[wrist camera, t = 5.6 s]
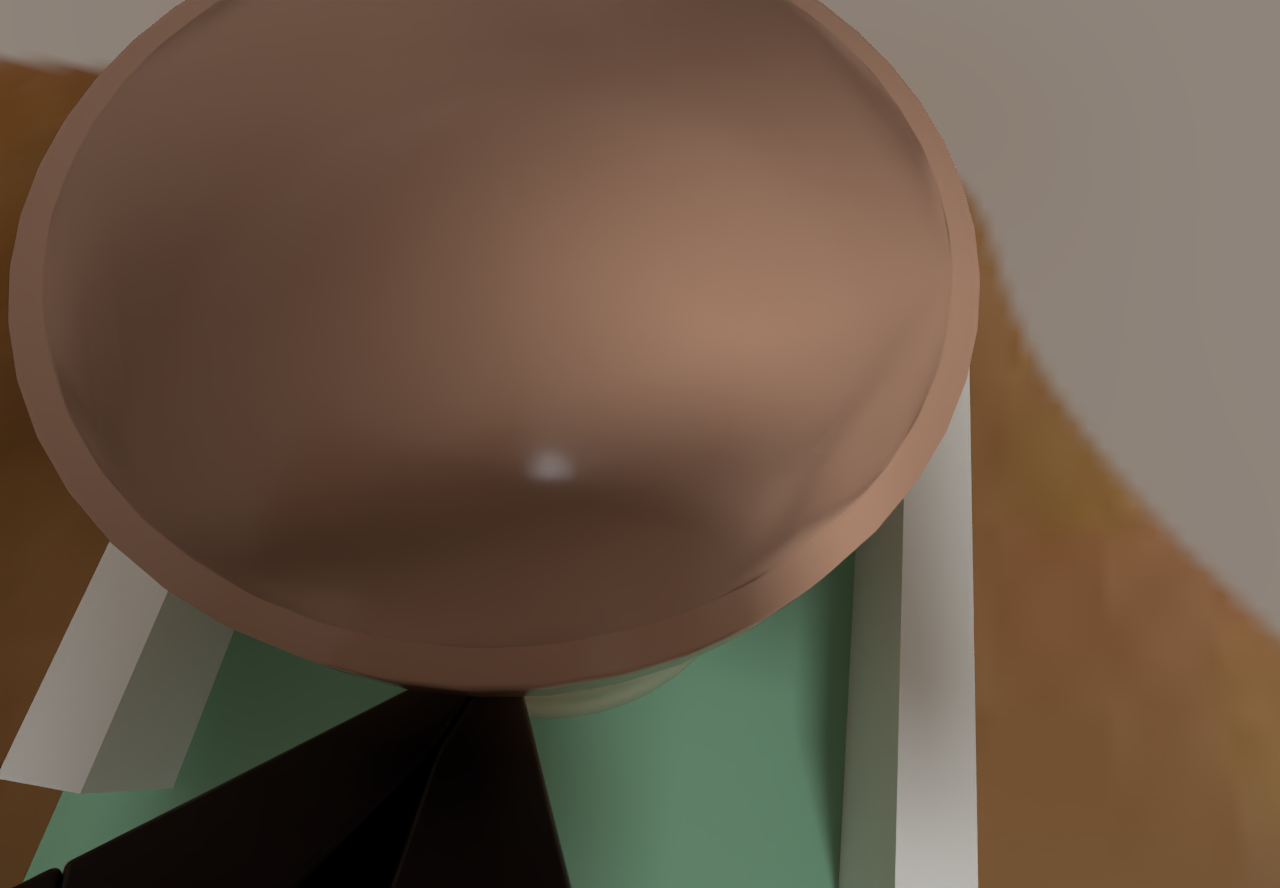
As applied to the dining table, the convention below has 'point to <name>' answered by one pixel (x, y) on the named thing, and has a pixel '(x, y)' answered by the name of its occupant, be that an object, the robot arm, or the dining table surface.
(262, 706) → the green mat
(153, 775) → the white rail holder
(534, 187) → the terracotta pot
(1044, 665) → the dining table surface
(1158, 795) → the dining table surface
